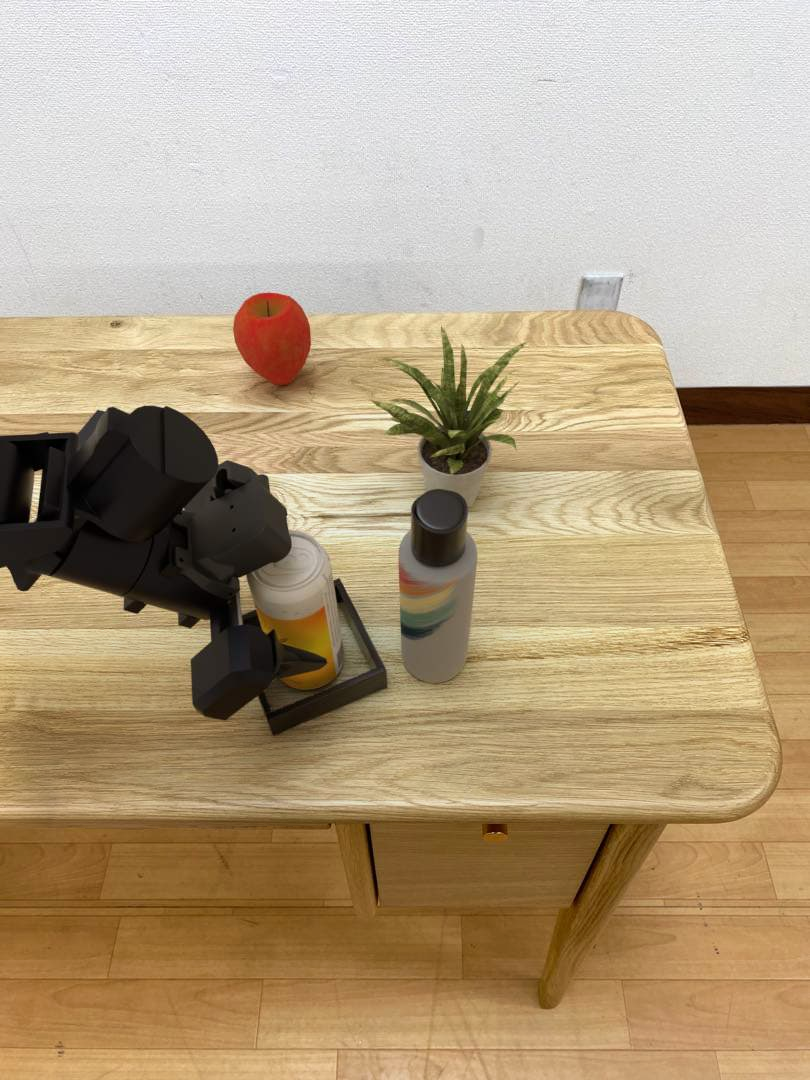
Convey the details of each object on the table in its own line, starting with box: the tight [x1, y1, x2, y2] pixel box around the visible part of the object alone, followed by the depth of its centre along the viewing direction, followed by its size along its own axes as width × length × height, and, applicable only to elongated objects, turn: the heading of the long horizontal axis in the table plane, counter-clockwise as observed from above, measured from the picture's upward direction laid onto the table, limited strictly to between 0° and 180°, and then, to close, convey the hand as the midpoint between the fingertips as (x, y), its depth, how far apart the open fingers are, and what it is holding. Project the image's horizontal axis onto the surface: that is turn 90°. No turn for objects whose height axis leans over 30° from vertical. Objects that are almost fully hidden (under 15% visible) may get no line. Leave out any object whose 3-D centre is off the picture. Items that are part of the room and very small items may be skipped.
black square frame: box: [242, 577, 388, 737], centre depth 65 cm, size 10×10×3 cm
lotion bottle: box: [397, 489, 478, 684], centre depth 59 cm, size 6×6×20 cm
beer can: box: [245, 529, 345, 691], centre depth 60 cm, size 6×6×15 cm
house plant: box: [368, 324, 528, 509], centre depth 72 cm, size 14×14×16 cm
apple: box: [232, 292, 312, 386], centre depth 85 cm, size 9×8×11 cm
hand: (315, 613), depth 61 cm, fingers open, 9 cm apart
